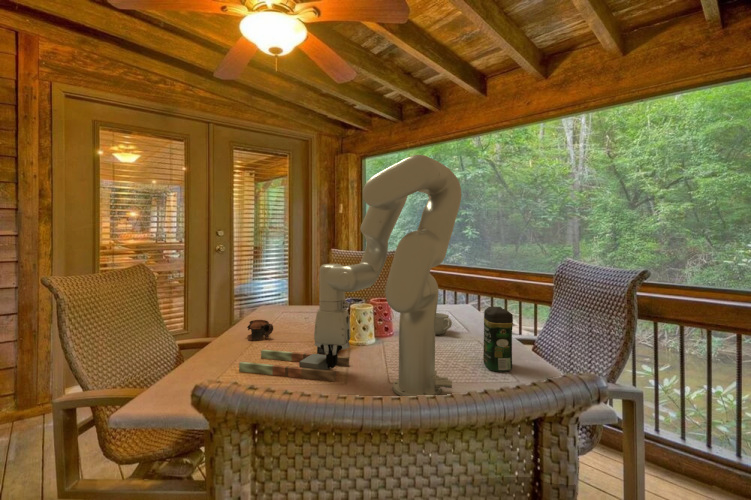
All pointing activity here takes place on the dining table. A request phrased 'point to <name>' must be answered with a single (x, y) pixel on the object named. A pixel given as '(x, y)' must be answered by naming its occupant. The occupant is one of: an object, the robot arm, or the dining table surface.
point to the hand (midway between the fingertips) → (331, 366)
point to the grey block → (314, 362)
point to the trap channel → (288, 370)
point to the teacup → (442, 323)
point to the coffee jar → (498, 339)
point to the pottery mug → (259, 329)
